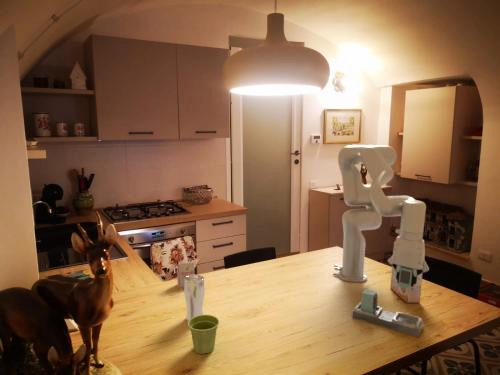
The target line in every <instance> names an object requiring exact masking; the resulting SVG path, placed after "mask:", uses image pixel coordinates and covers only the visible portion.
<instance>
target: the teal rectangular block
mask: <svg viewBox="0 0 500 375" xmlns="http://www.w3.org/2000/svg"><path fill="white" fill-rule="evenodd" d="M378 297H379V296H378V291H377V290H376V291H375V290H373V289H372V290H371V289H368V288H365V289H364V290H363V291H362V292H361V301H360V302H361V310H364V311H368V312H371V313H374V312H375V310H376V307H377V306H378V299H379V298H378Z"/></svg>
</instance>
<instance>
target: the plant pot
mask: <svg viewBox="0 0 500 375" xmlns="http://www.w3.org/2000/svg"><path fill="white" fill-rule="evenodd" d="M219 325H220V320H219V318H218V317H216V316H214V315H211V314H203V315H199V316H195V317H193V318H191V319H190V320H189V321H187V326H188V328H189V331H190V333H191V334H190V335H191V339H192V340H191V341H192V344H193V345H192V346H193V351H194V352H195V353H197V354H200V355H204V354H210V353H212V352H213V351H214V349H215V345H216V344H215V342H216V338H217V336H216V335H217V330H218V328H219Z"/></svg>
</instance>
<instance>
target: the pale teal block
mask: <svg viewBox="0 0 500 375" xmlns="http://www.w3.org/2000/svg"><path fill="white" fill-rule="evenodd" d="M412 275H413V269H412V268H407V267H403V266H401V267H400V276H399V285H398V286H401V287H405V288H408V289H410V288H411V287H412V286H411V280H412Z"/></svg>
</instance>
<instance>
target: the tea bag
mask: <svg viewBox="0 0 500 375" xmlns="http://www.w3.org/2000/svg"><path fill="white" fill-rule="evenodd" d="M176 271H177V272H176V273H177V279H176V281H177V282H176V283H177V287H178V289H181V288H183V289H184V285H185V277H187V276H189V275H196V274H195V262H193V261H192V262H181V263H177V269H176Z"/></svg>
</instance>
